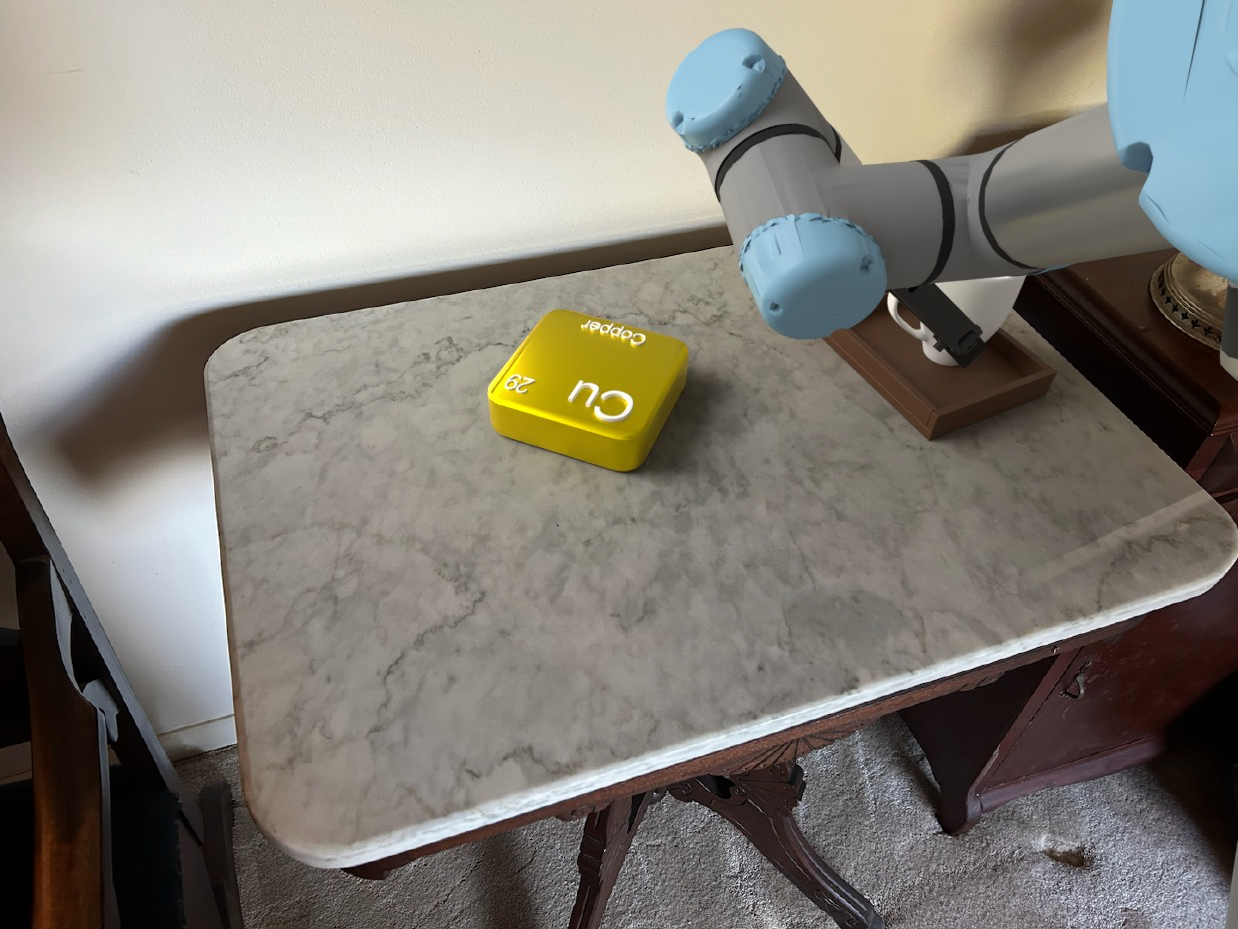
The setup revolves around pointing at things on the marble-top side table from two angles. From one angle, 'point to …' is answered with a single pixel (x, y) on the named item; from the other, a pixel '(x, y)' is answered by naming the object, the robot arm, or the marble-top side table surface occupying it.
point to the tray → (939, 373)
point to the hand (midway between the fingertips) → (922, 313)
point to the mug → (969, 309)
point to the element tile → (589, 389)
